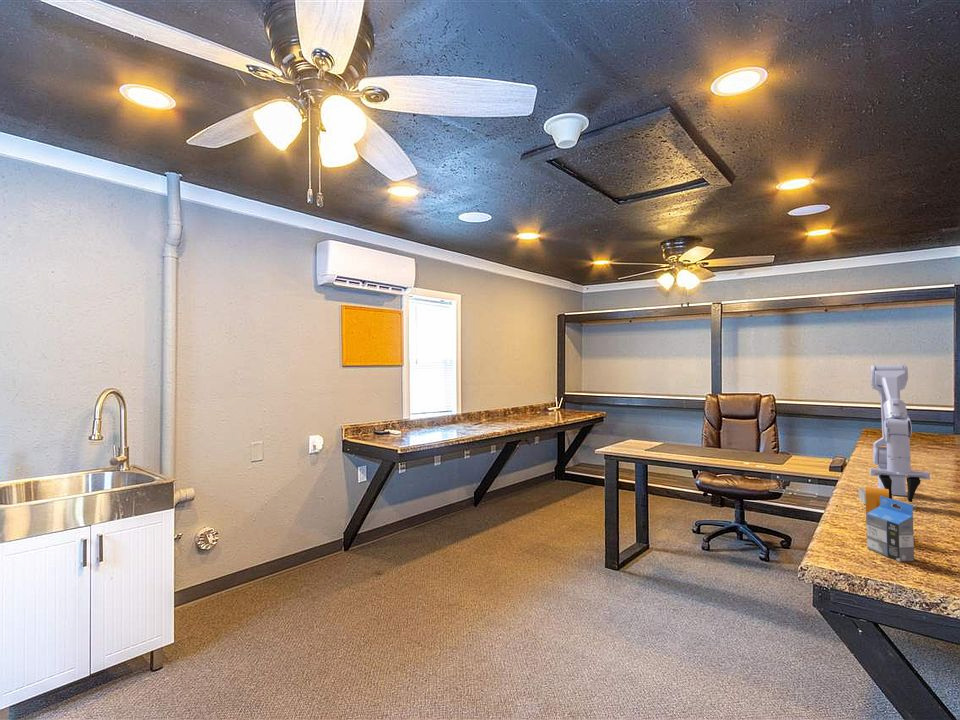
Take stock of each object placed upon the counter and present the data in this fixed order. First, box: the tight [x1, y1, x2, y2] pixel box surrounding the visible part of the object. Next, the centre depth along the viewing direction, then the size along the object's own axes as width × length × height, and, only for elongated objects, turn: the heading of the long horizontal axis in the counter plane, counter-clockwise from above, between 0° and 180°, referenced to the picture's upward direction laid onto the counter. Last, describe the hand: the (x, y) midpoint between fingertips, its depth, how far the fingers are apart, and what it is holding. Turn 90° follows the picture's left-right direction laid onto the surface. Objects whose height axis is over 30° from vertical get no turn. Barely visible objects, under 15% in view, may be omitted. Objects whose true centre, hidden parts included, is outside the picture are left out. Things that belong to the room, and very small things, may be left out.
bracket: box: [865, 486, 889, 535], centre depth 130 cm, size 11×7×12 cm, turn 142°
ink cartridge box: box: [865, 496, 915, 563], centre depth 117 cm, size 9×4×12 cm, turn 4°
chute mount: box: [858, 487, 894, 507], centre depth 164 cm, size 10×7×4 cm
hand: (899, 500), depth 161 cm, fingers open, 4 cm apart
